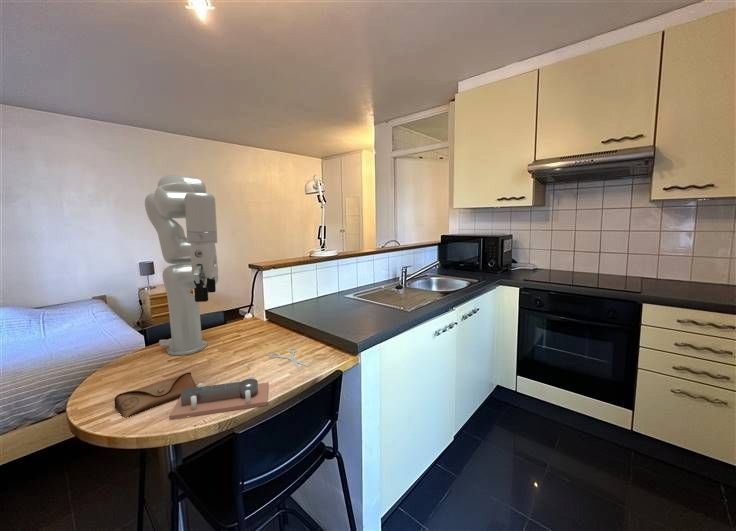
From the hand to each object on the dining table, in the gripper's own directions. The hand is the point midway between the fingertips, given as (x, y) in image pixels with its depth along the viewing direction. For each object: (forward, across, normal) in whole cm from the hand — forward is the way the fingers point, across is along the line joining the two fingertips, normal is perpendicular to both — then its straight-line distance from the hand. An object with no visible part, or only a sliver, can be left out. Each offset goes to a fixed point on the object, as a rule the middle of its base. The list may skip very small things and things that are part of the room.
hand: (206, 296), depth 90 cm
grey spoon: (+23, -15, -6) cm, 28 cm away
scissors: (+25, +5, -24) cm, 35 cm away
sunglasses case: (+26, -10, +10) cm, 29 cm away
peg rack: (+24, -16, -6) cm, 29 cm away
